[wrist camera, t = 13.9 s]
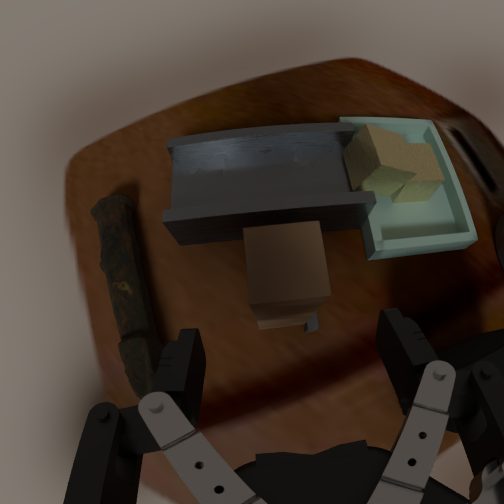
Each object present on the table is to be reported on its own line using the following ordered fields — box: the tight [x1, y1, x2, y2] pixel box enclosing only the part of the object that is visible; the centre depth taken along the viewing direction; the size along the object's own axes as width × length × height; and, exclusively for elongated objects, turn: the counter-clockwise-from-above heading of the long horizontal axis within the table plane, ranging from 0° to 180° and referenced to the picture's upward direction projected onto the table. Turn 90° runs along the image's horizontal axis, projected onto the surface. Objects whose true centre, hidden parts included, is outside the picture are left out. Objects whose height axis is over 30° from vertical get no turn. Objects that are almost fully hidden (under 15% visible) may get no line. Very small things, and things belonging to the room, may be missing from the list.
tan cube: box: [390, 143, 445, 203], centre depth 25 cm, size 4×4×4 cm
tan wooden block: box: [243, 221, 331, 332], centre depth 19 cm, size 4×5×12 cm
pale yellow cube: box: [342, 124, 417, 197], centre depth 24 cm, size 4×4×4 cm
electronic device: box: [401, 329, 504, 433], centre depth 17 cm, size 4×10×10 cm, turn 101°
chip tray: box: [338, 117, 478, 260], centre depth 27 cm, size 11×14×2 cm
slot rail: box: [162, 122, 377, 246], centre depth 26 cm, size 16×8×5 cm, turn 95°
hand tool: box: [91, 194, 164, 399], centre depth 24 cm, size 19×4×5 cm, turn 17°
